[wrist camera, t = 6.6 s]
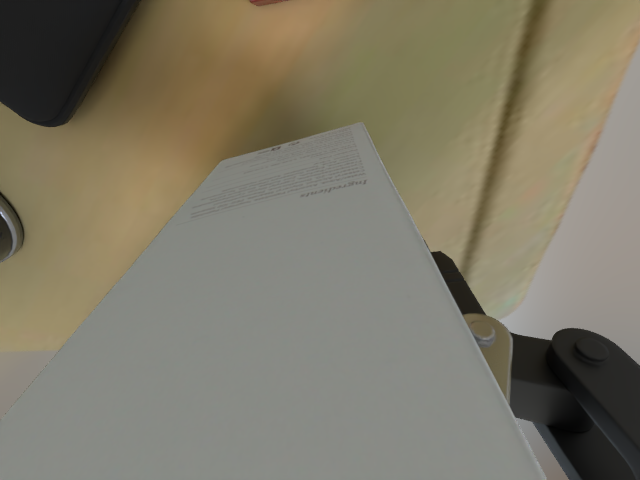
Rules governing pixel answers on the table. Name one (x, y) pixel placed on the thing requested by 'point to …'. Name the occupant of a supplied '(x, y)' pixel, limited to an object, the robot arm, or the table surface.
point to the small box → (274, 344)
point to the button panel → (265, 2)
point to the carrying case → (55, 53)
